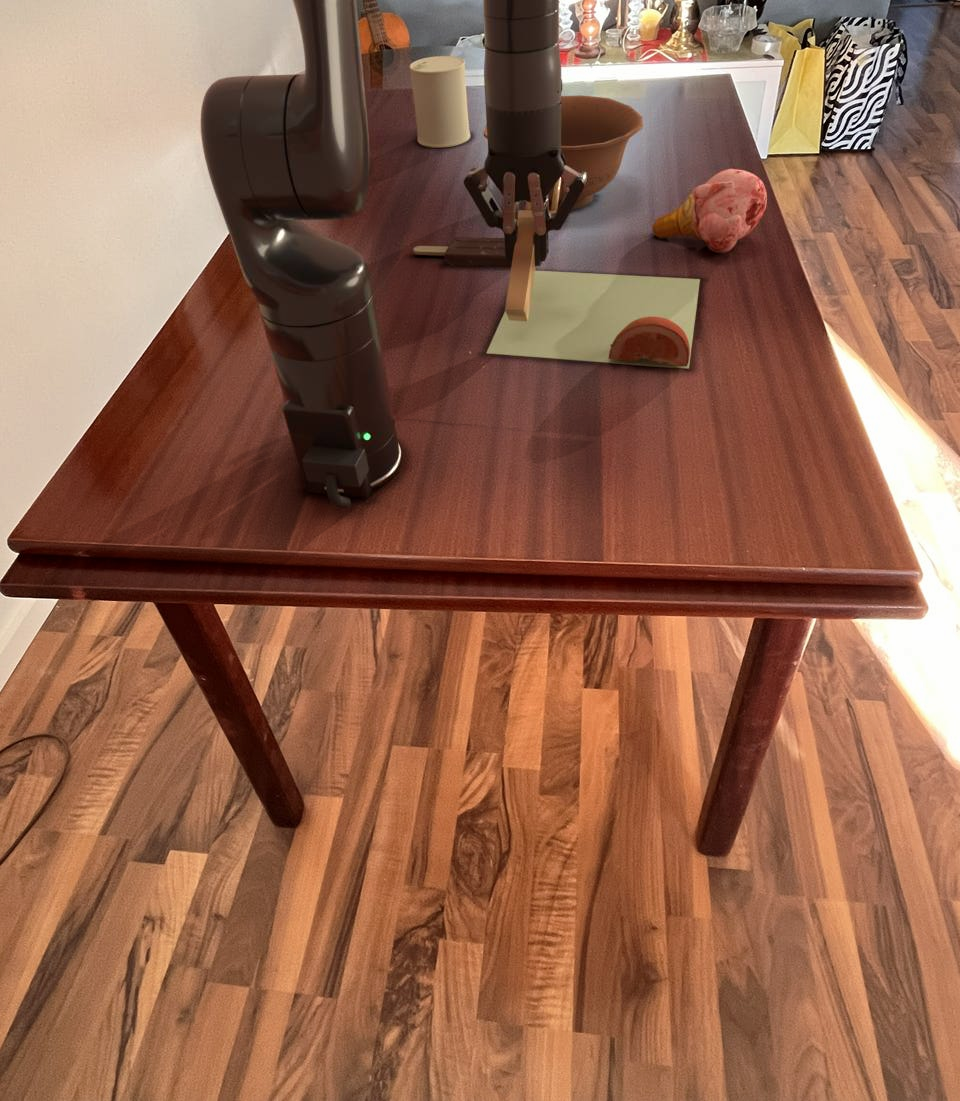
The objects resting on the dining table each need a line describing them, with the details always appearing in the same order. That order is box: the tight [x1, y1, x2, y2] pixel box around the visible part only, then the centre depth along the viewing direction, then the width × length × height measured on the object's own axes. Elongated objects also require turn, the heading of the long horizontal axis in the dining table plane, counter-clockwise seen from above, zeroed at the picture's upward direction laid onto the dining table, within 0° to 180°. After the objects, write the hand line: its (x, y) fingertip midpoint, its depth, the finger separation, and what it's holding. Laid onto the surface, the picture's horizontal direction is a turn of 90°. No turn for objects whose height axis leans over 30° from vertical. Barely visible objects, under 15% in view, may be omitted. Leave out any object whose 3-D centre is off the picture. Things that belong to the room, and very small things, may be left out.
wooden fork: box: [504, 177, 561, 321], centre depth 91 cm, size 17×5×3 cm
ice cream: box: [652, 168, 768, 254], centre depth 103 cm, size 11×10×15 cm
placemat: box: [486, 270, 701, 370], centre depth 94 cm, size 20×22×1 cm
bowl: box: [483, 94, 644, 211], centre depth 115 cm, size 22×22×11 cm
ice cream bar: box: [413, 236, 512, 268], centre depth 107 cm, size 5×2×15 cm
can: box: [409, 55, 471, 149], centre depth 136 cm, size 9×9×12 cm
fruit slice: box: [608, 317, 691, 366], centre depth 85 cm, size 8×7×5 cm
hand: (527, 262), depth 92 cm, fingers closed on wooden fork, 2 cm apart
